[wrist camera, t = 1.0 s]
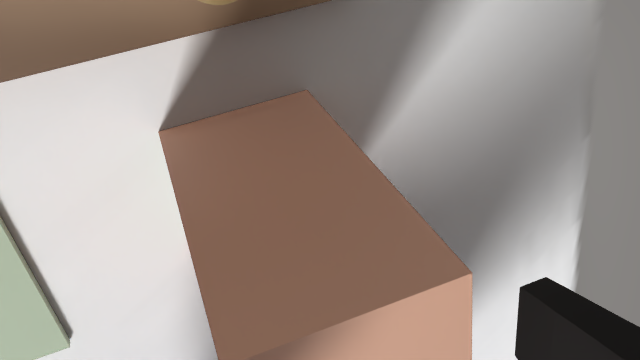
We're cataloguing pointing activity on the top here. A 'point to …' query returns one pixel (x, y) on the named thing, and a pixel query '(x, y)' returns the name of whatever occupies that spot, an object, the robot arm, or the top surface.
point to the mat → (24, 309)
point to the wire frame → (111, 27)
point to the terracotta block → (310, 243)
